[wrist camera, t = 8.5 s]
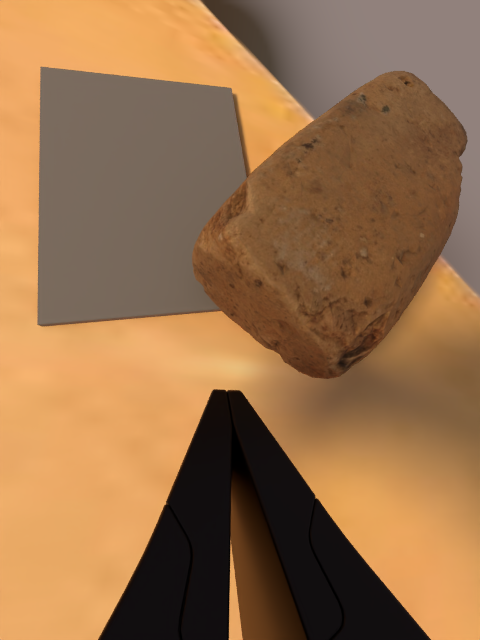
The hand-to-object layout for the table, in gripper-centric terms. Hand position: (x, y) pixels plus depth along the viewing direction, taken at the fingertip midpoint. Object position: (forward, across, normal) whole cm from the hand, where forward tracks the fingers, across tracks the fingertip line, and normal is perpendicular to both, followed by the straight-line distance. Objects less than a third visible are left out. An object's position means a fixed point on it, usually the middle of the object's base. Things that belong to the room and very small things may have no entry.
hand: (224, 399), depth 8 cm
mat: (+16, +5, -4) cm, 17 cm away
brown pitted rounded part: (+6, -2, +1) cm, 6 cm away
